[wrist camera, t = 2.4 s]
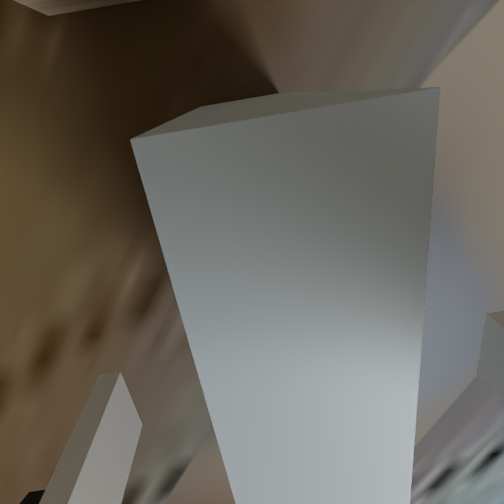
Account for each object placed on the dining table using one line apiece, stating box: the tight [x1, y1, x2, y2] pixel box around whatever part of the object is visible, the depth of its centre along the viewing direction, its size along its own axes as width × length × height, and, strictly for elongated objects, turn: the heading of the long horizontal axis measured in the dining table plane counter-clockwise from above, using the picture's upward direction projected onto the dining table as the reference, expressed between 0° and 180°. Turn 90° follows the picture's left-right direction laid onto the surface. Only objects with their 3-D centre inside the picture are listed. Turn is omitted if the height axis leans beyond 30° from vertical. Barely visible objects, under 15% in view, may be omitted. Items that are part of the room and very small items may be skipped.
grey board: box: [130, 87, 440, 504], centre depth 17 cm, size 18×5×18 cm, turn 9°
